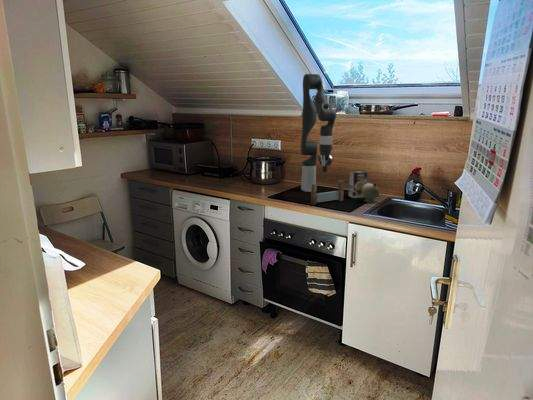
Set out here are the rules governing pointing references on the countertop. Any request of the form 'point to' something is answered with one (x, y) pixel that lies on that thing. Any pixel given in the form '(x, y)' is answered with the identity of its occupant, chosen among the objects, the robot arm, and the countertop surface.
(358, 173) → the coffee box
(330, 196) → the gate
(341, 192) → the gate frame
